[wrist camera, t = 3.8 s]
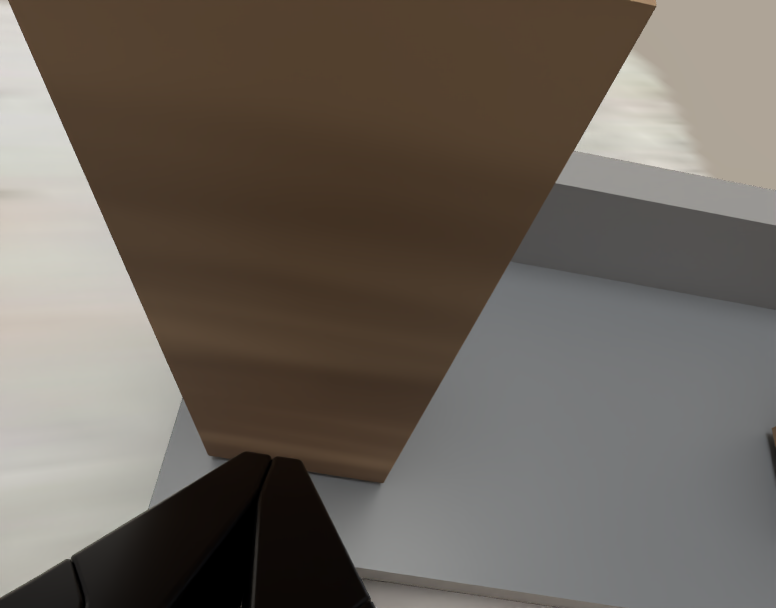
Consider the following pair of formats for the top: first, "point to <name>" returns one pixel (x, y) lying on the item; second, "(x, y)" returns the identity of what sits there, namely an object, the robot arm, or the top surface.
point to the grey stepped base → (590, 412)
